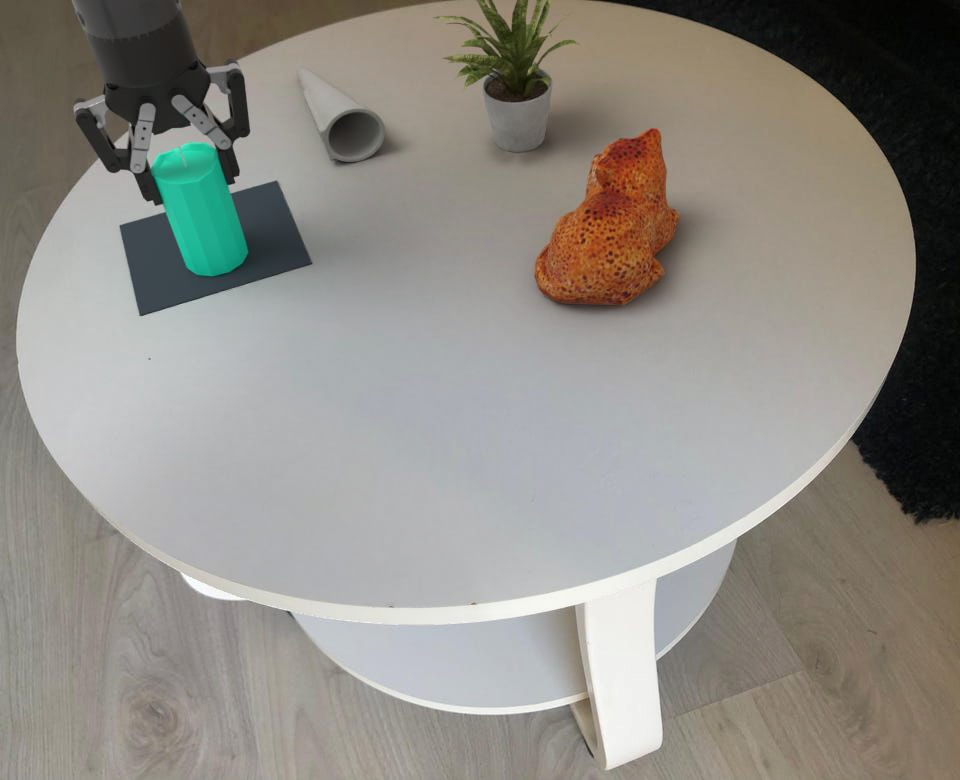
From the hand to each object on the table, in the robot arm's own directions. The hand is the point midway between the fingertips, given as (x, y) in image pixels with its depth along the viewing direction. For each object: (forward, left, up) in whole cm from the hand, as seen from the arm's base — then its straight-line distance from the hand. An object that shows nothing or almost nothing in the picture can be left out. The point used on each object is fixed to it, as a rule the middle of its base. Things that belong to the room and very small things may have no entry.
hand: (193, 189), depth 88 cm
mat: (0, +2, -8) cm, 8 cm away
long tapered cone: (+17, +18, -8) cm, 26 cm away
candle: (0, 0, -8) cm, 8 cm away
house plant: (+33, +6, -8) cm, 34 cm away
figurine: (+33, -16, -8) cm, 37 cm away
